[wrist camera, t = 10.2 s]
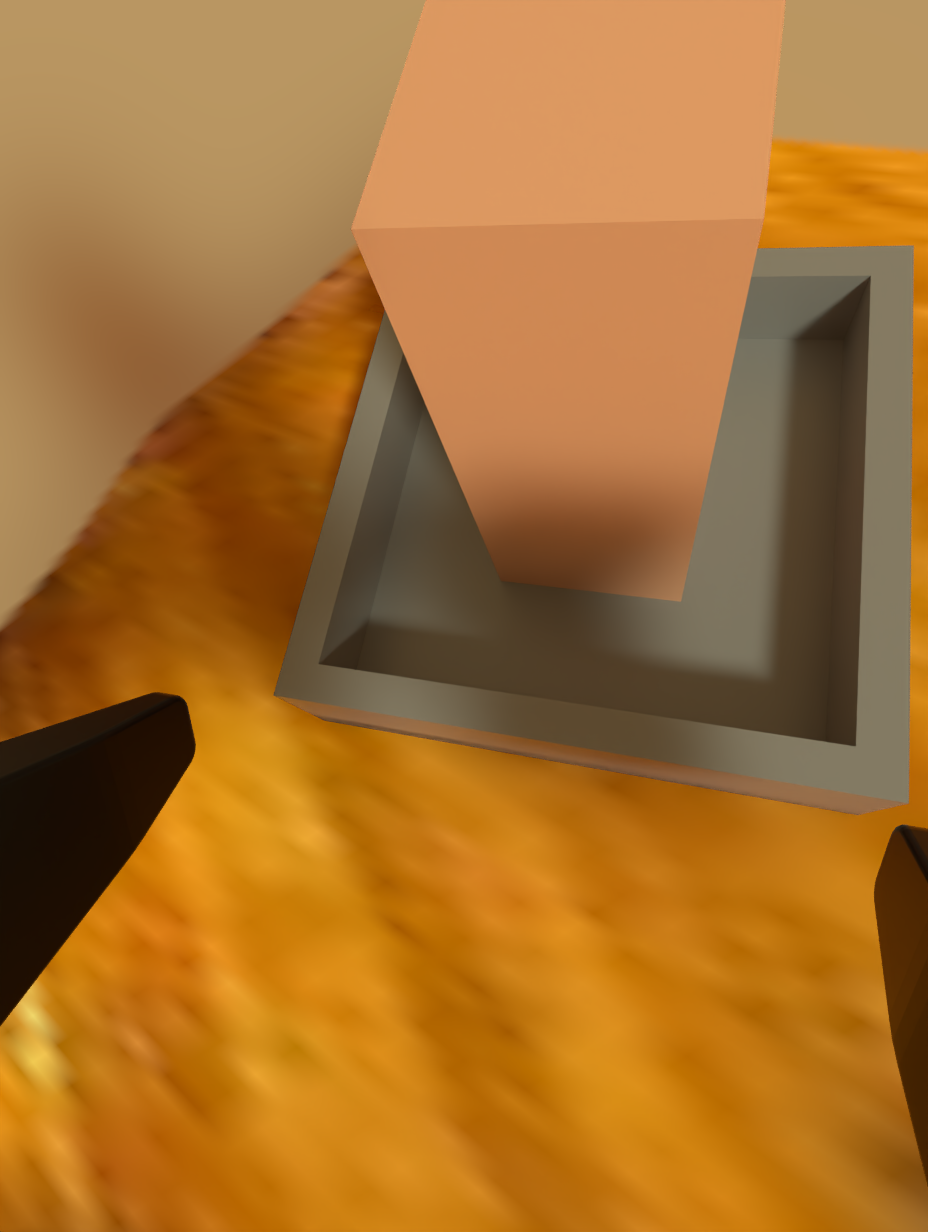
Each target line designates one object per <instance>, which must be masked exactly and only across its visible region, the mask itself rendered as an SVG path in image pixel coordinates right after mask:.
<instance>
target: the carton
mask: <svg viewBox="0 0 928 1232" xmlns="http://www.w3.org/2000/svg"><path fill="white" fill-rule="evenodd" d="M785 4H786V0H426V2H425V5H424V8H423V11H422V14H421V17H420V20H419V23H418V26H417V29H416V32H415V35H414V39H413V41H412V44H411V47H410V51H409V54H408V57H407V60H406V63H405V66H404V69H403V72H402V75H401V78H400V81H399V84H398V87H397V90H396V93H395V96H394V100H393V102H392V105H391V109H390V112H389V115H388V118H387V121H386V124H385V127H384V130H383V133H382V136H381V139H380V142H379V145H378V148H377V151H376V154H375V158H374V160H373V163H372V167H371V169H370V172H369V176H368V179H367V182H366V185H365V188H364V191H363V194H362V197H361V200H360V203H359V206H358V209H357V212H356V215H355V218H354V222H353V224H352V227H351V231H352V233H353V235H354V238H355V240H356V242H357V245H358V247H359V249H360V252H361V254H362V256H363V259H364V261H365V263H366V266H367V268H368V271H369V273H370V275H371V278H372V280H373V282H374V285H375V287H376V289H377V292H378V294H379V296H380V299H381V301H382V303H383V306H384V308H385V310H386V313H387V315H388V317H389V320H390V322H391V324H392V327H393V329H394V331H395V334H396V336H397V339H398V341H399V343H400V346H401V348H402V350H403V353H404V355H405V357H406V360H407V362H408V364H409V367H410V369H411V371H412V374H413V376H414V378H415V381H416V383H417V385H418V388H419V390H420V392H421V395H422V397H423V399H424V402H425V404H426V407H427V409H428V411H429V414H430V416H431V418H432V421H433V423H434V425H435V428H436V430H437V432H438V435H439V437H440V439H441V442H442V444H443V446H444V449H445V451H446V453H447V456H448V458H449V460H450V463H451V465H452V467H453V470H454V472H455V475H456V477H457V479H458V482H459V484H460V486H461V489H462V491H463V493H464V496H465V498H466V500H467V503H468V505H469V507H470V510H471V512H472V514H473V517H474V519H475V521H476V524H477V526H478V528H479V531H480V533H481V535H482V538H483V540H484V543H485V545H486V547H487V550H488V552H489V554H490V557H491V559H492V561H493V564H494V566H495V568H496V571H497V573H498V575H499V578H500V580H501V581H506V582H515V583H523V584H532V585H541V586H549V587H558V588H567V589H575V590H584V591H593V592H601V593H610V594H619V595H627V596H636V597H645V598H653V599H662V600H671V601H679V602H681V599H682V594H683V590H684V585H685V581H686V576H687V571H688V567H689V562H690V557H691V553H692V548H693V544H694V539H695V534H696V530H697V525H698V521H699V516H700V511H701V507H702V502H703V497H704V493H705V488H706V484H707V479H708V474H709V470H710V465H711V460H712V456H713V451H714V447H715V442H716V437H717V433H718V428H719V424H720V419H721V414H722V410H723V405H724V400H725V396H726V391H727V387H728V382H729V377H730V373H731V368H732V364H733V359H734V354H735V350H736V345H737V340H738V336H739V331H740V327H741V322H742V317H743V313H744V308H745V304H746V299H747V294H748V290H749V285H750V280H751V276H752V271H753V267H754V262H755V257H756V253H757V248H758V243H759V239H760V234H761V230H762V225H763V220H764V213H765V203H766V193H767V183H768V173H769V163H770V153H771V143H772V133H773V122H774V113H775V102H776V93H777V83H778V73H779V63H780V53H781V43H782V33H783V23H784V14H785Z"/></svg>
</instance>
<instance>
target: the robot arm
mask: <svg viewBox="0 0 928 1232" xmlns="http://www.w3.org/2000/svg"><path fill="white" fill-rule="evenodd" d="M195 747H196V744H195V738H194V734H193V729H192V724H191V720H190V715H189V711H188V706H187V703H186V702H185V700H184V699H183V698H182V697H180V696H177V695H172V694H166V693H160V692H154V693H150V694H147V695H144V696H141V697H138V698H135V699H132V700H129V701H125V702H122V703H119V704H116V705H113V706H110V707H107V708H104V709H101V710H98V711H95V712H92V713H89V714H86V715H82V716H79V717H76V718H73V719H70V720H67V721H64V722H61V723H58V724H55V725H52V726H49V727H46V728H43V729H39V730H36V731H33V732H30V733H27V734H24V735H21V736H18V737H15V738H12V739H9V740H6V741H3V742H0V1026H1V1025H2V1024H3V1022H4V1021H5V1020H6V1018H7V1017H8V1016H9V1015H10V1013H11V1012H12V1011H13V1009H14V1008H15V1007H16V1005H17V1004H18V1003H19V1001H20V1000H21V999H22V998H23V996H24V995H25V994H26V992H27V991H28V990H29V988H30V987H31V986H32V985H33V983H34V982H35V981H36V979H37V978H38V977H39V975H40V974H41V973H42V972H43V970H44V969H45V968H46V966H47V965H48V964H49V962H50V961H51V960H52V959H53V957H54V956H55V955H56V953H57V952H58V951H59V949H60V948H61V947H62V946H63V944H64V943H65V942H66V940H67V939H68V938H69V936H70V935H71V934H72V933H73V931H74V930H75V929H76V927H77V926H78V925H79V923H80V922H81V921H82V920H83V918H84V917H85V916H86V914H87V913H88V912H89V910H90V909H91V908H92V907H93V905H94V904H95V903H96V901H97V900H98V899H99V897H100V896H101V895H102V893H103V892H104V891H105V890H106V888H107V887H108V886H109V884H110V883H111V882H112V880H113V879H114V878H115V877H116V875H117V874H118V873H119V871H120V870H121V869H122V867H123V866H124V865H125V863H126V862H127V861H128V859H129V858H130V857H131V855H132V854H133V853H134V851H135V850H136V848H137V847H138V845H139V844H140V842H141V841H142V839H143V838H144V836H145V835H146V833H147V831H148V830H149V828H150V827H151V825H152V824H153V822H154V820H155V819H156V817H157V816H158V814H159V812H160V811H161V809H162V808H163V806H164V805H165V803H166V801H167V800H168V798H169V797H170V795H171V793H172V792H173V790H174V789H175V787H176V785H177V784H178V782H179V781H180V779H181V778H182V776H183V774H184V773H185V771H186V770H187V768H188V766H189V765H190V763H191V761H192V759H193V757H194V754H195ZM874 902H875V911H876V919H877V927H878V935H879V943H880V951H881V958H882V966H883V974H884V982H885V990H886V998H887V1006H888V1014H889V1021H890V1028H891V1035H892V1041H893V1046H894V1050H895V1055H896V1059H897V1064H898V1068H899V1072H900V1077H901V1081H902V1085H903V1089H904V1093H905V1097H906V1101H907V1105H908V1109H909V1113H910V1117H911V1121H912V1125H913V1129H914V1133H915V1137H916V1141H917V1145H918V1149H919V1154H920V1158H921V1162H922V1166H923V1170H924V1174H925V1178H926V1182H927V1186H928V829H926V828H921V827H915V826H909V825H900V826H898V827H896V828H895V830H894V831H893V832H892V834H891V837H890V840H889V843H888V846H887V848H886V851H885V854H884V857H883V860H882V863H881V866H880V869H879V872H878V875H877V878H876V881H875V888H874Z"/></svg>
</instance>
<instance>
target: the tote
mask: <svg viewBox="0 0 928 1232" xmlns="http://www.w3.org/2000/svg"><path fill="white" fill-rule="evenodd" d="M913 248H914V246H867V247H816V248H764V249H757V253H756V257H755V262H754V267H753V271H752V276H751V280H750V285H749V290H748V294H747V299H746V304H745V308H744V313H743V317H742V322H741V327H740V331H739V336H738V340H737V345H736V350H735V354H734V359H733V364H732V368H731V373H730V377H729V382H728V387H727V391H726V396H725V400H724V405H723V410H722V414H721V419H720V424H719V428H718V433H717V437H716V442H715V447H714V451H713V456H712V460H711V465H710V470H709V474H708V479H707V484H706V488H705V493H704V497H703V502H702V507H701V511H700V516H699V521H698V525H697V530H696V534H695V539H694V544H693V548H692V553H691V557H690V562H689V567H688V571H687V576H686V581H685V585H684V590H683V594H682V599H681V602H679V601H671V600H662V599H653V598H645V597H636V596H627V595H619V594H610V593H601V592H593V591H584V590H575V589H567V588H558V587H549V586H541V585H532V584H523V583H515V582H506V581H501V580H500V578H499V575H498V573H497V571H496V568H495V566H494V564H493V561H492V559H491V557H490V554H489V552H488V550H487V547H486V545H485V543H484V540H483V538H482V535H481V533H480V531H479V528H478V526H477V524H476V521H475V519H474V517H473V514H472V512H471V510H470V507H469V505H468V503H467V500H466V498H465V496H464V493H463V491H462V489H461V486H460V484H459V482H458V479H457V477H456V475H455V472H454V470H453V467H452V465H451V463H450V460H449V458H448V456H447V453H446V451H445V449H444V446H443V444H442V442H441V439H440V437H439V435H438V432H437V430H436V428H435V425H434V423H433V421H432V418H431V416H430V414H429V411H428V409H427V407H426V404H425V402H424V399H423V397H422V395H421V392H420V390H419V388H418V385H417V383H416V381H415V378H414V376H413V374H412V371H411V369H410V367H409V364H408V362H407V360H406V357H405V355H404V353H403V350H402V348H401V346H400V343H399V341H398V339H397V336H396V334H395V331H394V329H393V327H392V324H391V322H390V320H389V317H388V315H387V313H386V310H385V312H384V315H383V319H382V322H381V326H380V329H379V333H378V336H377V339H376V343H375V346H374V350H373V353H372V357H371V360H370V364H369V367H368V371H367V374H366V377H365V381H364V384H363V388H362V391H361V395H360V398H359V402H358V405H357V409H356V412H355V416H354V419H353V422H352V426H351V429H350V433H349V436H348V440H347V443H346V447H345V450H344V454H343V457H342V460H341V464H340V467H339V471H338V474H337V478H336V481H335V485H334V488H333V492H332V495H331V499H330V502H329V505H328V509H327V512H326V516H325V519H324V523H323V526H322V530H321V533H320V537H319V540H318V544H317V547H316V550H315V554H314V557H313V561H312V564H311V568H310V571H309V575H308V578H307V582H306V585H305V588H304V592H303V595H302V599H301V602H300V606H299V609H298V613H297V616H296V620H295V623H294V627H293V630H292V633H291V637H290V640H289V644H288V647H287V651H286V654H285V658H284V661H283V665H282V668H281V671H280V675H279V678H278V682H277V685H276V689H275V692H274V696H276V697H278V698H280V699H282V700H284V701H286V702H288V703H290V704H292V705H294V706H296V707H298V708H300V709H302V710H304V711H306V712H308V713H310V714H312V715H314V716H316V717H318V718H320V719H322V720H325V721H330V722H336V723H342V724H347V725H353V726H359V727H364V728H370V729H375V730H381V731H387V732H392V733H398V734H404V735H409V736H415V737H421V738H426V739H432V740H438V741H443V742H449V743H455V744H460V745H466V746H471V747H477V748H483V749H488V750H494V751H500V752H505V753H511V754H517V755H522V756H528V757H534V758H539V759H545V760H551V761H556V762H562V763H567V764H573V765H579V766H584V767H590V768H596V769H601V770H607V771H613V772H618V773H624V774H630V775H635V776H641V777H647V778H652V779H658V780H664V781H669V782H675V783H680V784H686V785H692V786H697V787H703V788H709V789H714V790H720V791H726V792H731V793H737V794H743V795H748V796H754V797H760V798H765V799H771V800H776V801H782V802H788V803H793V804H799V805H805V806H810V807H816V808H822V809H827V810H833V811H839V812H844V813H850V814H856V815H860V814H864V813H868V812H873V811H877V810H882V809H886V808H891V807H895V806H899V805H904V804H908V803H909V711H910V595H911V479H912V363H913Z"/></svg>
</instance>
